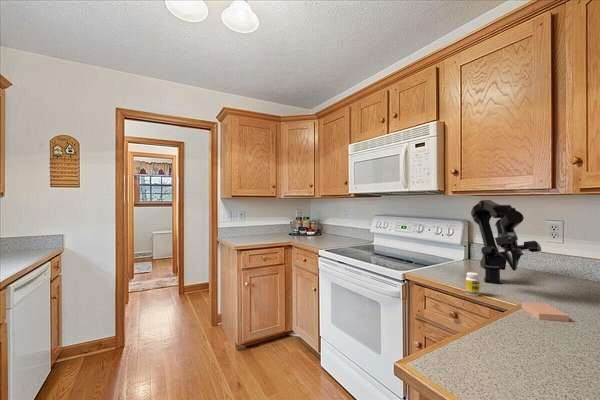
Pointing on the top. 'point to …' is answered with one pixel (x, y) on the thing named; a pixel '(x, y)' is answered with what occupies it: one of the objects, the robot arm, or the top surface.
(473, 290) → the supplement bottle
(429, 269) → the top surface
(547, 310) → the tile
